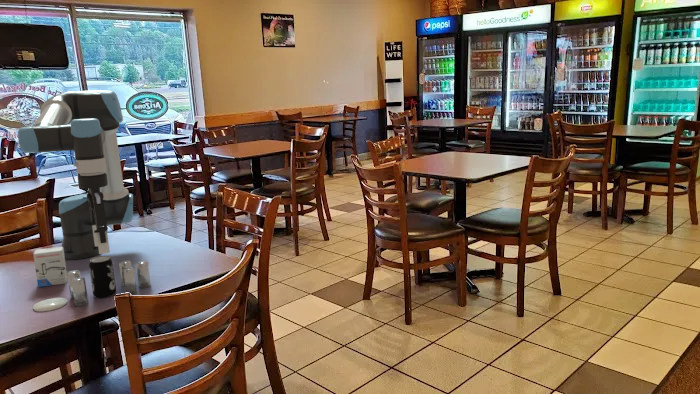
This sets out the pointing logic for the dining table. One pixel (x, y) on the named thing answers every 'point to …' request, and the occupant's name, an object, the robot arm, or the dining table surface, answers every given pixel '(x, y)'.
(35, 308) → the coaster
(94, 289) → the beverage can
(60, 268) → the ink box
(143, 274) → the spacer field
